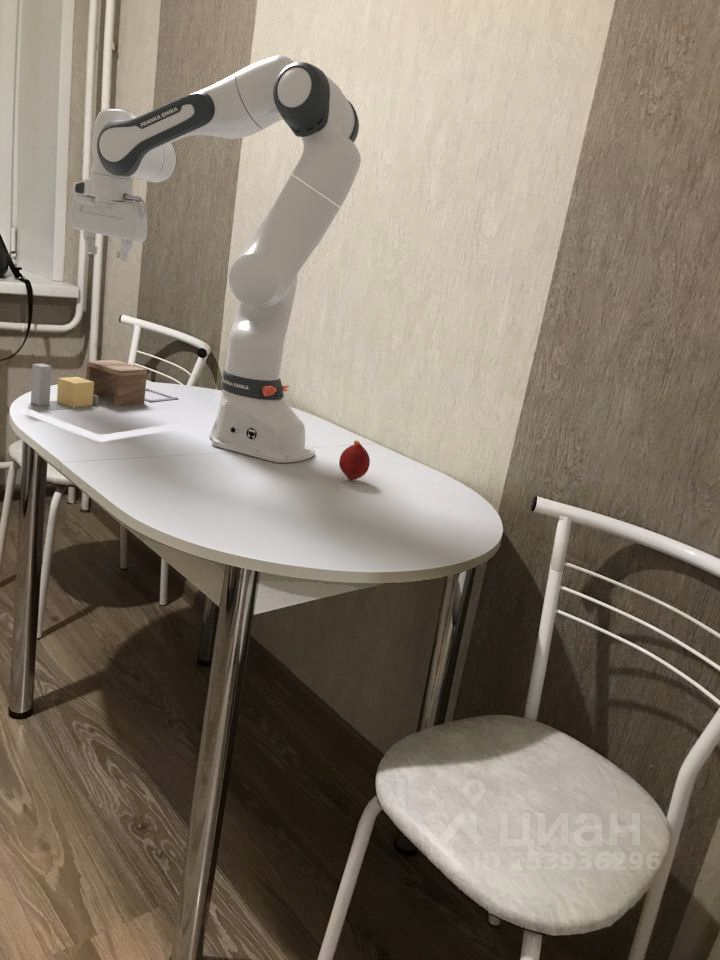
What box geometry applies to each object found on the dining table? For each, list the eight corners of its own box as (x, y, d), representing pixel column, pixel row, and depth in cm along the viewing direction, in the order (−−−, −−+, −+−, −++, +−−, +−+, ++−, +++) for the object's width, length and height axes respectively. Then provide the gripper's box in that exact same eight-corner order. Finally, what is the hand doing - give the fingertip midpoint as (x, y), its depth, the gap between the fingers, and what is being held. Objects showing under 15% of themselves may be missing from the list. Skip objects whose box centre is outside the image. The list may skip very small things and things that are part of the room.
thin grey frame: (177, 404, 177) (178, 398, 176) (150, 407, 169) (150, 401, 169) (147, 394, 181) (147, 388, 181) (119, 397, 173) (119, 391, 173)
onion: (359, 476, 146) (366, 437, 144) (370, 486, 141) (378, 446, 139) (332, 474, 144) (339, 435, 141) (342, 484, 139) (349, 444, 136)
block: (92, 405, 157) (94, 382, 156) (73, 407, 153) (74, 383, 152) (76, 399, 160) (77, 376, 158) (56, 401, 155) (58, 378, 154)
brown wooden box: (143, 408, 167) (147, 369, 165) (116, 411, 161) (119, 371, 158) (112, 398, 172) (115, 359, 169) (84, 400, 165) (87, 361, 162)
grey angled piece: (110, 408, 161) (113, 367, 159) (51, 415, 148) (53, 371, 146) (90, 401, 164) (93, 361, 161) (30, 407, 151) (32, 364, 148)
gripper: (156, 199, 158) (151, 266, 162) (90, 188, 167) (86, 251, 171) (134, 195, 152) (129, 263, 156) (67, 183, 161) (63, 249, 165)
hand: (106, 257), depth 164 cm, fingers open, 8 cm apart
